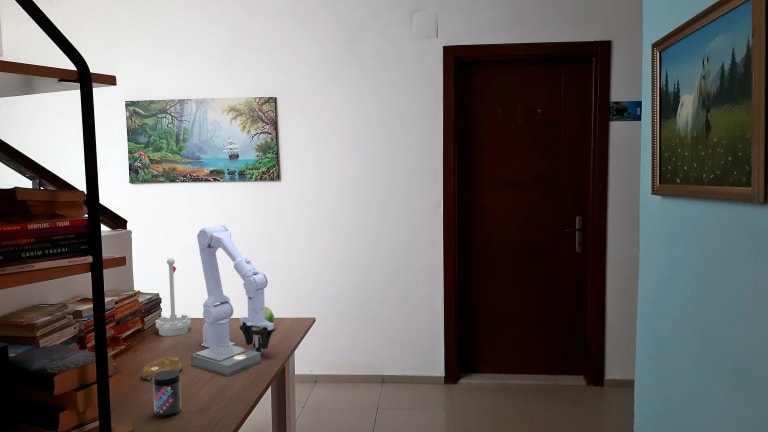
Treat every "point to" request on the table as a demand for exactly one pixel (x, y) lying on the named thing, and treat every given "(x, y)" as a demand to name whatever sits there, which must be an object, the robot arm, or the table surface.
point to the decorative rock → (160, 367)
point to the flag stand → (173, 312)
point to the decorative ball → (269, 315)
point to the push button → (256, 338)
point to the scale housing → (228, 363)
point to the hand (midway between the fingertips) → (257, 346)
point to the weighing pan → (221, 352)
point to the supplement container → (167, 393)
